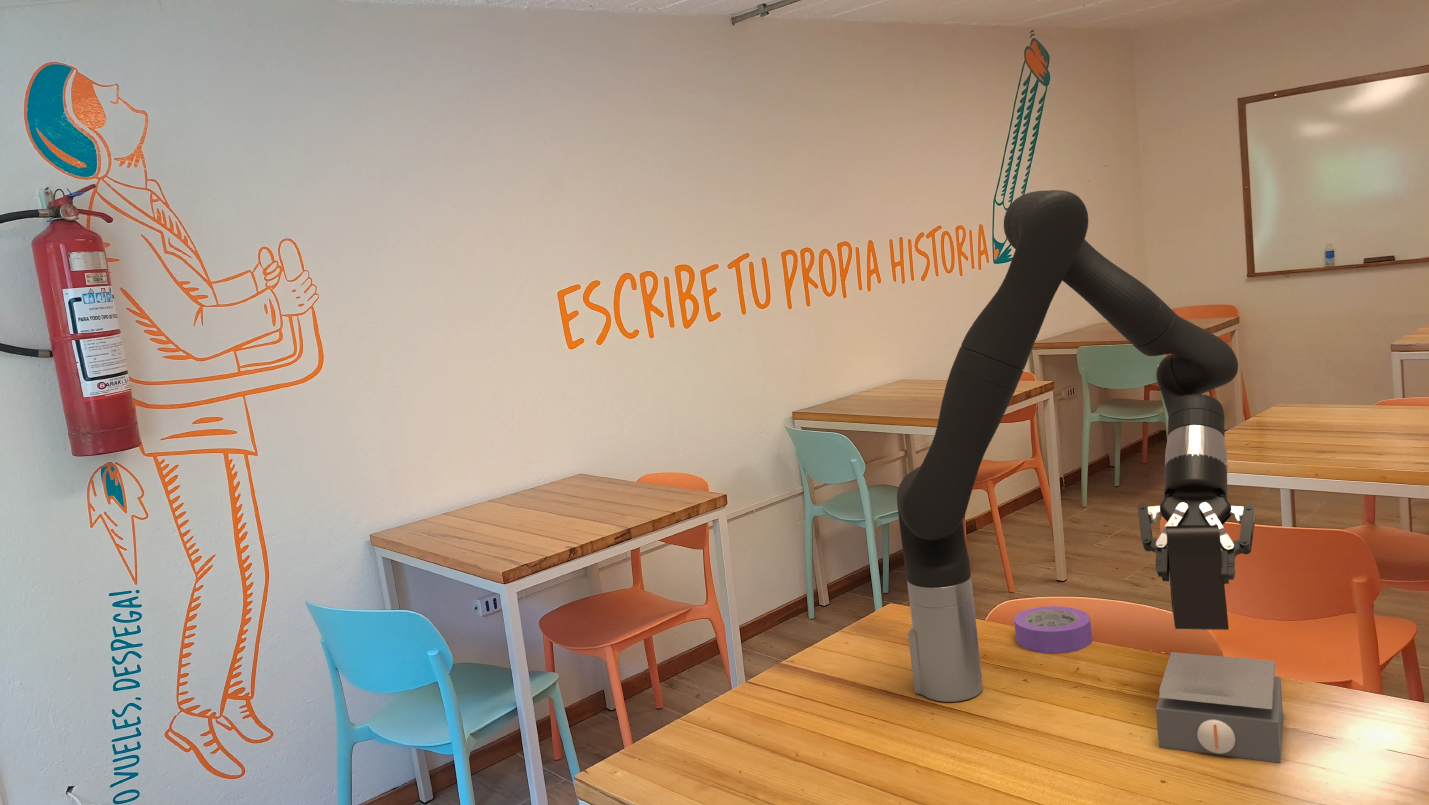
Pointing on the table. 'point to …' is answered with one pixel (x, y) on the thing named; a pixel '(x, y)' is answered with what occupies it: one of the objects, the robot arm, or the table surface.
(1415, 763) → the table surface
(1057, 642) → the masking tape
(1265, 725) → the base
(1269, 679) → the pan
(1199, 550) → the phone stand
